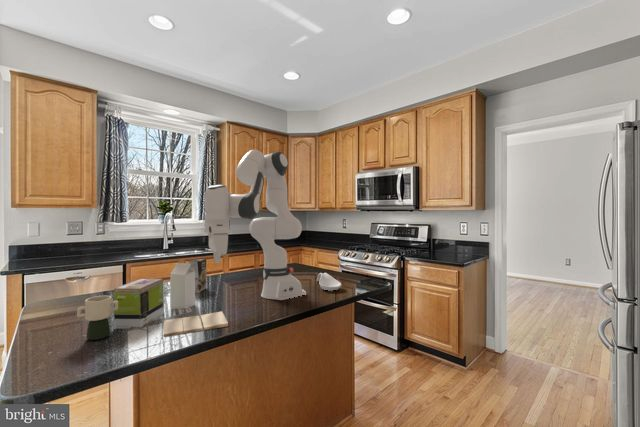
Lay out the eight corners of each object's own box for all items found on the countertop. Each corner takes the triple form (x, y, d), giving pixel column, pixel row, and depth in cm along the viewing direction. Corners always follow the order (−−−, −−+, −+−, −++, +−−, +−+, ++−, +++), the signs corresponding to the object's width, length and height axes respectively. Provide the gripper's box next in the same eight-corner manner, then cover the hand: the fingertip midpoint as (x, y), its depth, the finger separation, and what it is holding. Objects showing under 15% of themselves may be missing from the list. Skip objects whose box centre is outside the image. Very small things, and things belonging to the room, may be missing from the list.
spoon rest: (344, 292, 157) (344, 278, 157) (323, 294, 153) (323, 280, 153) (328, 282, 179) (328, 270, 179) (310, 283, 176) (310, 271, 176)
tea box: (139, 314, 120) (140, 278, 120) (164, 315, 120) (164, 278, 120) (112, 329, 105) (113, 287, 105) (140, 329, 105) (141, 287, 105)
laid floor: (198, 319, 115) (198, 315, 115) (202, 332, 103) (202, 328, 103) (164, 324, 110) (164, 320, 110) (163, 338, 98) (163, 334, 98)
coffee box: (199, 292, 153) (200, 261, 153) (187, 292, 153) (187, 261, 153) (206, 288, 162) (207, 258, 162) (195, 288, 163) (195, 258, 162)
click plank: (222, 315, 119) (221, 311, 119) (228, 327, 107) (228, 322, 107) (200, 319, 116) (199, 315, 116) (203, 332, 103) (203, 327, 103)
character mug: (115, 330, 104) (115, 293, 104) (120, 336, 99) (120, 297, 99) (75, 339, 97) (75, 299, 97) (78, 346, 92) (78, 304, 92)
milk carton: (184, 310, 126) (185, 265, 126) (170, 309, 127) (170, 264, 127) (195, 305, 133) (195, 262, 133) (180, 304, 134) (181, 261, 134)
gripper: (204, 225, 123) (204, 258, 123) (212, 229, 105) (212, 268, 105) (220, 224, 126) (220, 257, 126) (230, 228, 108) (230, 267, 108)
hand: (217, 262), depth 115 cm, fingers closed
